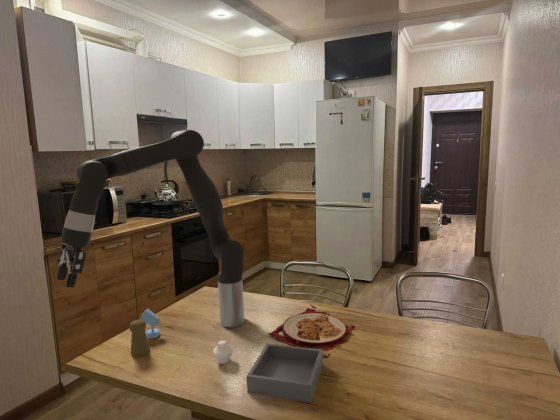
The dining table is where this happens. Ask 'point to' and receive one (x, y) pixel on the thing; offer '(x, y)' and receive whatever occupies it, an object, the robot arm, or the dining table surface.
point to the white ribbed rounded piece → (223, 352)
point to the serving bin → (286, 372)
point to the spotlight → (153, 320)
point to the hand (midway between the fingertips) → (64, 283)
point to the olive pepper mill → (139, 338)
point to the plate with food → (313, 330)
